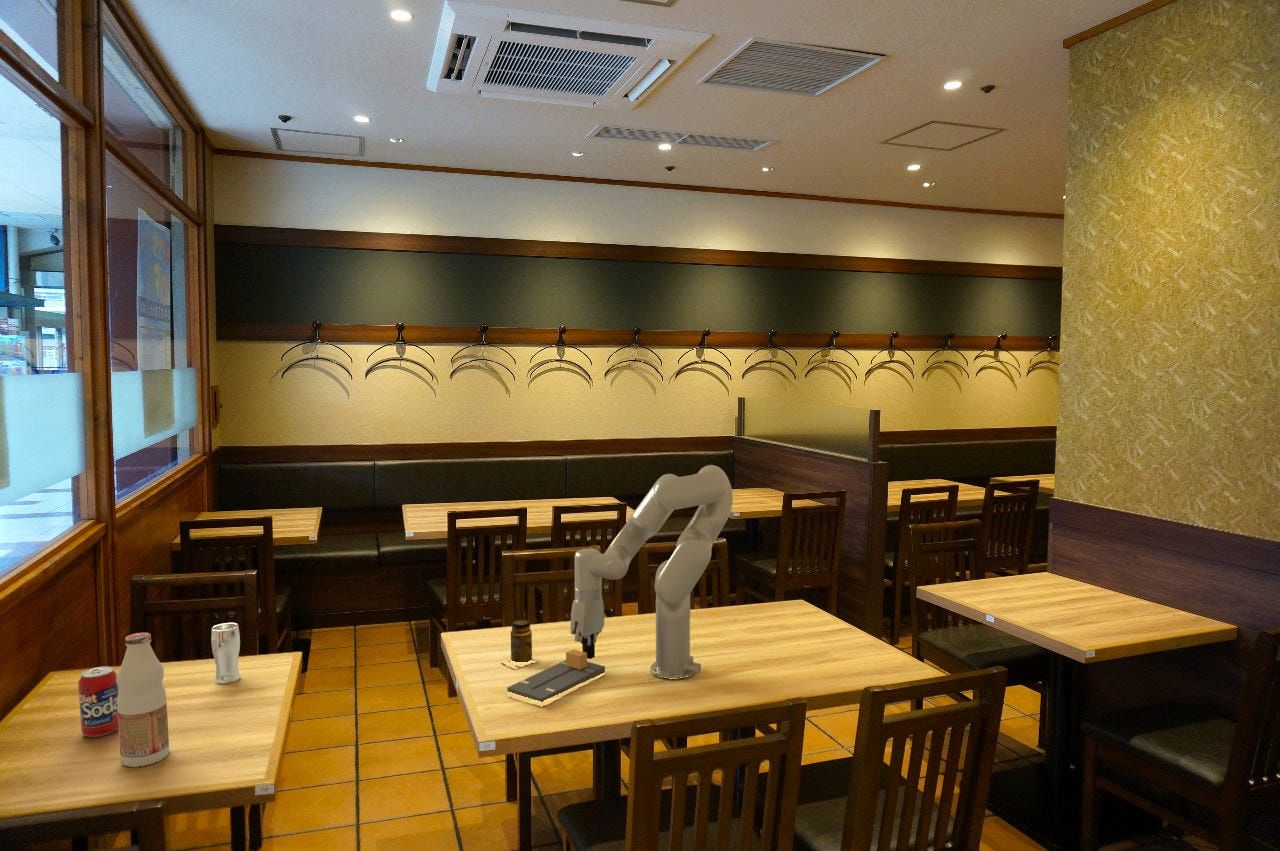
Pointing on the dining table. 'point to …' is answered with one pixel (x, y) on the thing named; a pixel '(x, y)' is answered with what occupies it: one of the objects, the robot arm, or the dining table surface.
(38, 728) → the dining table surface
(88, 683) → the soda can
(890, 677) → the dining table surface
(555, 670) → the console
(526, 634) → the condiment
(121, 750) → the fruit juice
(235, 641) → the beer glass
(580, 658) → the fader tab
